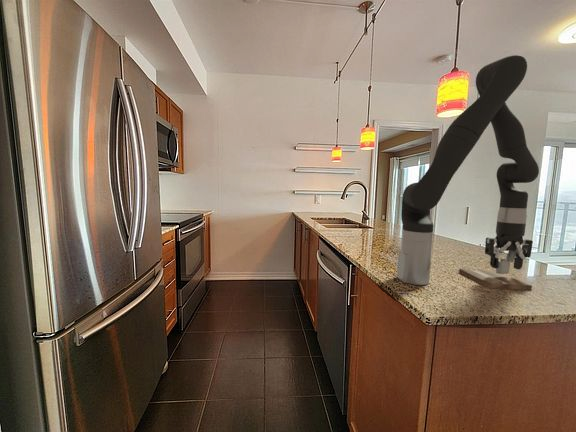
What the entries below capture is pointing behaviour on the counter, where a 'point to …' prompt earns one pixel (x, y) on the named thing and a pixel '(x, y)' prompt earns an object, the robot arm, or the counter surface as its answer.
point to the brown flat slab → (495, 279)
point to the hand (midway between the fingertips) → (505, 268)
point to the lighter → (505, 263)
